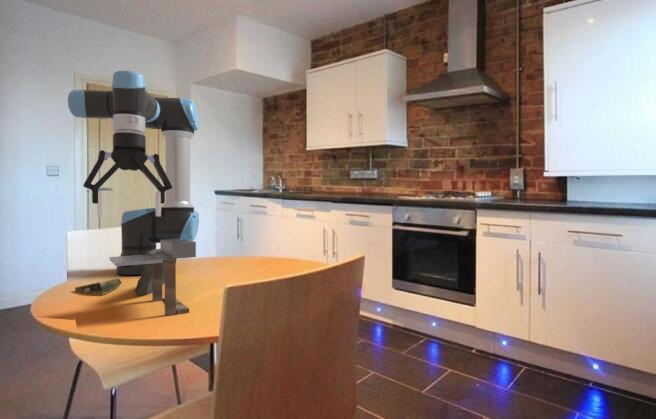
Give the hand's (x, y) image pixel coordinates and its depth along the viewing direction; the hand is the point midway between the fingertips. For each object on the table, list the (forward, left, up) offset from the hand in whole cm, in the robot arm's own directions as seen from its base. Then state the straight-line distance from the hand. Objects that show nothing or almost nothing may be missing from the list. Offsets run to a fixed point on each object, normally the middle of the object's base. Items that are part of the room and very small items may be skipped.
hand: (130, 216), depth 103 cm
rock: (-30, -9, -26) cm, 41 cm away
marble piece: (-18, +8, -25) cm, 32 cm away
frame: (0, +8, -25) cm, 26 cm away
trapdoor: (0, +8, -11) cm, 13 cm away
